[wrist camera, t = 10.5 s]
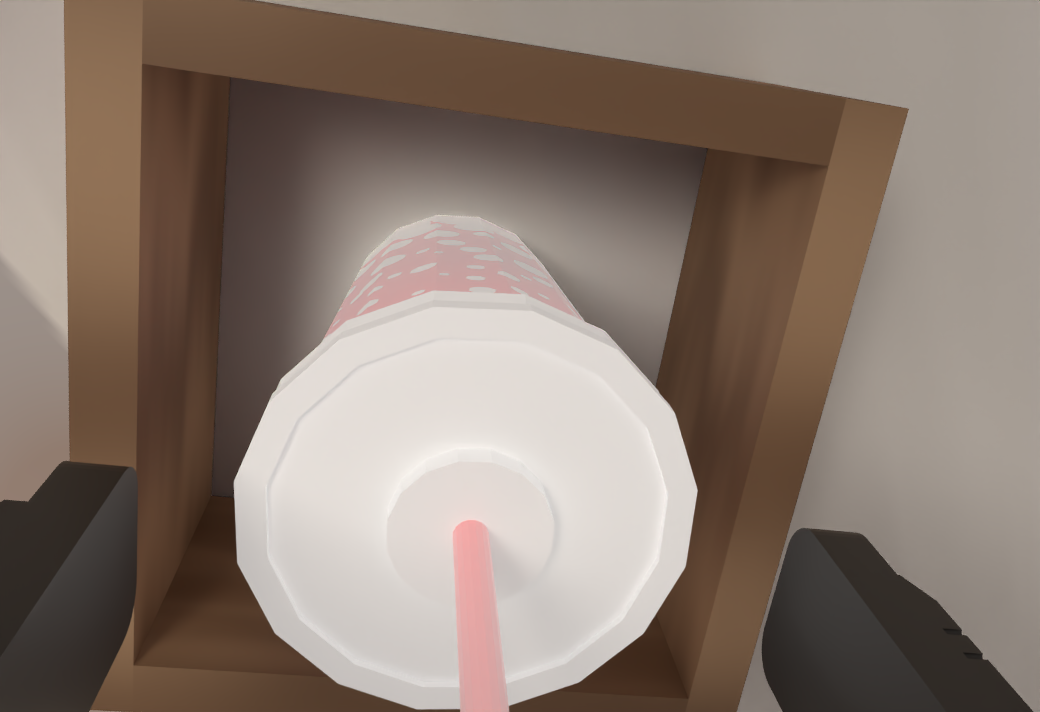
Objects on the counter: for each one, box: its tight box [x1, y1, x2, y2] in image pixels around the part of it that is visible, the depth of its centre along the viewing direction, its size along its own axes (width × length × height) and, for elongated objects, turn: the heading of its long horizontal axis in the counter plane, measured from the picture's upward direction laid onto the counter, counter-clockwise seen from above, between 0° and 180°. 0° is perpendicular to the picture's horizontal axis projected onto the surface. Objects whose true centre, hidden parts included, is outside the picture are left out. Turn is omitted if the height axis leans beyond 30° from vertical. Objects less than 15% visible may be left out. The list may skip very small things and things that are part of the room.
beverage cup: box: [234, 215, 698, 712], centre depth 14 cm, size 6×6×14 cm
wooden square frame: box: [64, 0, 909, 712], centre depth 18 cm, size 12×12×6 cm
